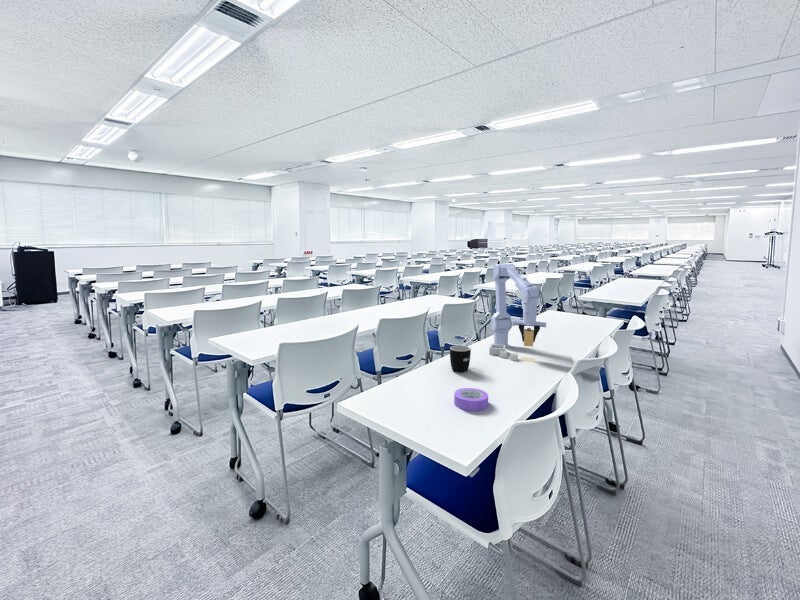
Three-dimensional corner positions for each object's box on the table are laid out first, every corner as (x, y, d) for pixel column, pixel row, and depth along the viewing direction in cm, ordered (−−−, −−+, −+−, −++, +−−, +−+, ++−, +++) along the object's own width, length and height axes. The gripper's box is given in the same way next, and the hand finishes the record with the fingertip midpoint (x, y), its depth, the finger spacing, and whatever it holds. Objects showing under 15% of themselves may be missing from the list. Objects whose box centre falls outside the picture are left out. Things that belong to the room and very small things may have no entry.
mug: (463, 375, 160) (464, 352, 158) (445, 370, 166) (445, 348, 164) (477, 368, 169) (477, 346, 167) (459, 363, 175) (460, 342, 173)
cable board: (489, 351, 193) (489, 343, 192) (535, 355, 186) (535, 346, 185) (487, 361, 177) (487, 352, 177) (537, 365, 171) (537, 356, 170)
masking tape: (464, 394, 141) (464, 384, 140) (493, 403, 134) (494, 392, 133) (447, 405, 132) (447, 395, 131) (478, 415, 125) (478, 404, 124)
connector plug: (523, 343, 178) (524, 326, 177) (532, 344, 177) (533, 327, 176) (523, 345, 174) (524, 328, 173) (532, 346, 173) (533, 329, 172)
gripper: (513, 313, 172) (511, 342, 174) (547, 315, 167) (545, 344, 170) (513, 310, 178) (512, 338, 180) (546, 312, 174) (544, 340, 176)
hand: (528, 341), depth 175 cm, fingers closed on connector plug, 4 cm apart
